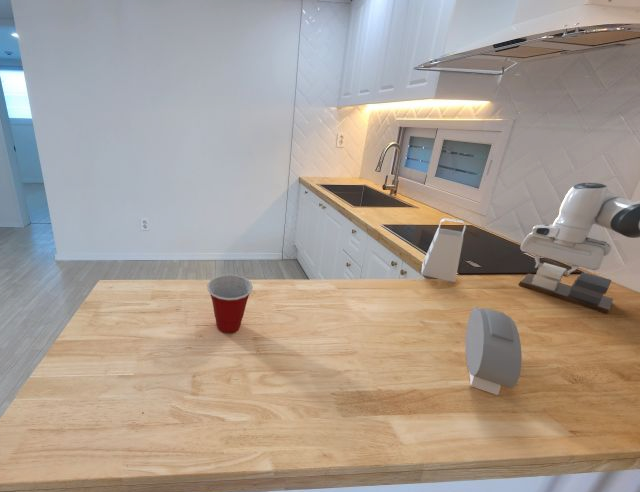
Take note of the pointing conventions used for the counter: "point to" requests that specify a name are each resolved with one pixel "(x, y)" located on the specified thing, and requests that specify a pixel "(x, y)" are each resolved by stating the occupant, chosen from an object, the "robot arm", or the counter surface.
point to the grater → (444, 253)
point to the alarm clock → (492, 350)
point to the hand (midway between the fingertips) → (551, 272)
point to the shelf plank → (566, 294)
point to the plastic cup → (229, 300)
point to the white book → (551, 271)
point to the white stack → (546, 282)
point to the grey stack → (589, 288)
